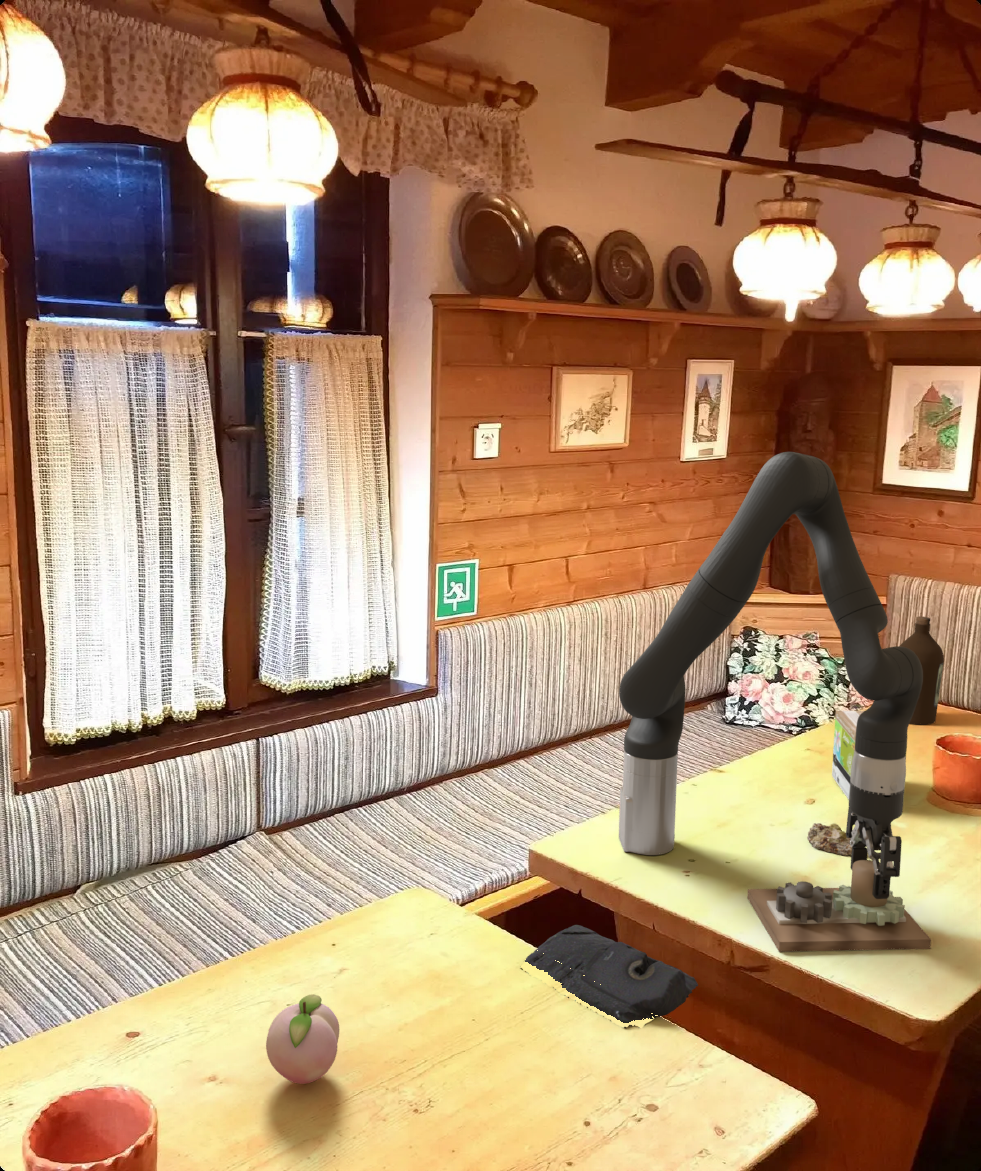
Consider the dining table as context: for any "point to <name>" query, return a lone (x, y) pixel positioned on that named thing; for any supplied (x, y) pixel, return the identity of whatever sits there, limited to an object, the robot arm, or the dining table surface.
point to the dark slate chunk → (612, 975)
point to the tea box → (844, 747)
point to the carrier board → (826, 922)
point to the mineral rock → (829, 839)
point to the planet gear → (866, 898)
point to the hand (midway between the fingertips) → (869, 883)
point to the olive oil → (926, 671)
